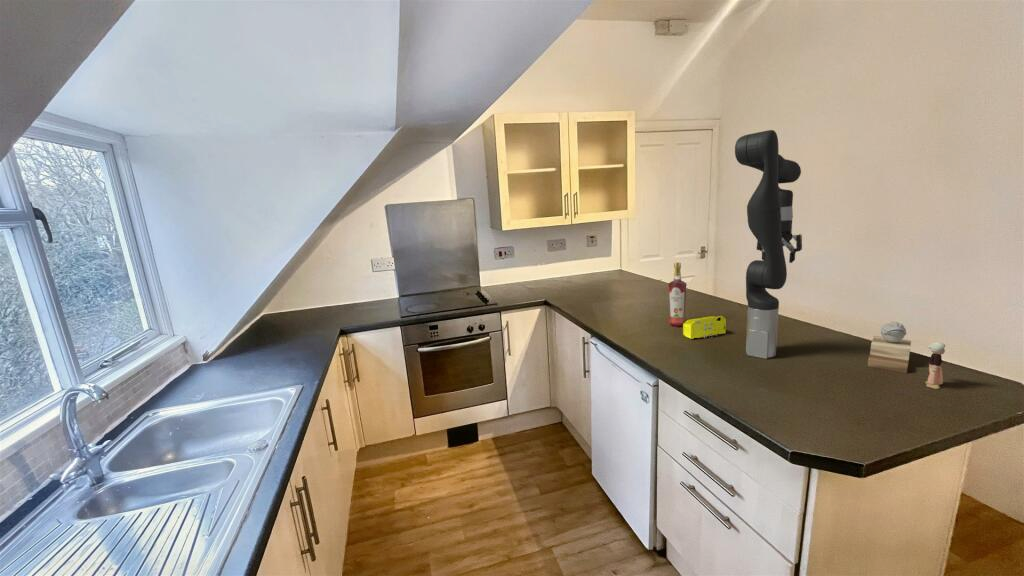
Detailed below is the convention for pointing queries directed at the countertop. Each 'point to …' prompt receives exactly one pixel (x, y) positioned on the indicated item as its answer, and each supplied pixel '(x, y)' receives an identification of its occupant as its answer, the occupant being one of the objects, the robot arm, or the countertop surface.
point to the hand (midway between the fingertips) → (777, 261)
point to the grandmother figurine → (935, 365)
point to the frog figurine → (893, 332)
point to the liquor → (677, 298)
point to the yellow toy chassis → (704, 327)
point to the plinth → (889, 354)
